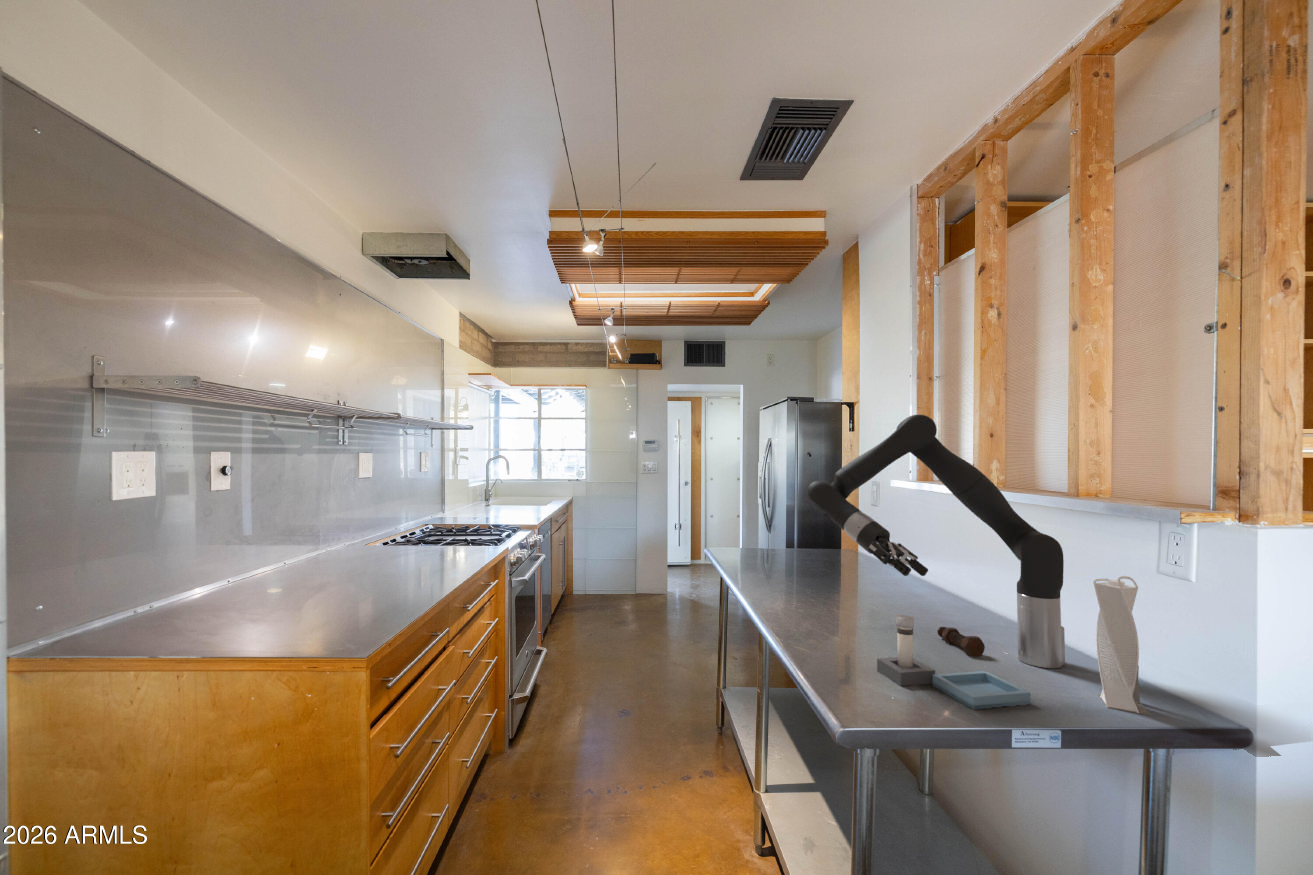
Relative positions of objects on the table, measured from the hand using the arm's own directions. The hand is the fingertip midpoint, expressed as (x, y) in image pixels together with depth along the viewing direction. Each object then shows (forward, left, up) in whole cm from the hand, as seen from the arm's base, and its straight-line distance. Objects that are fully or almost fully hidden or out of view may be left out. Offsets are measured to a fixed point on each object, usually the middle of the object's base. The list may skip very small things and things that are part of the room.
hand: (917, 573), depth 129 cm
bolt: (-25, -17, -25) cm, 39 cm away
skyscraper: (-32, +21, -25) cm, 46 cm away
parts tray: (-6, +12, -24) cm, 28 cm away
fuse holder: (+4, 0, -24) cm, 25 cm away
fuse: (+4, 0, -24) cm, 25 cm away
